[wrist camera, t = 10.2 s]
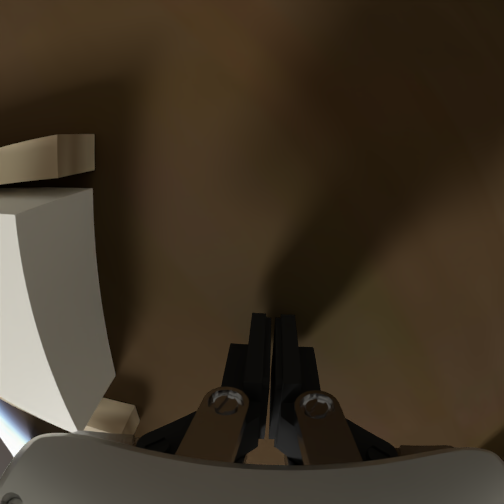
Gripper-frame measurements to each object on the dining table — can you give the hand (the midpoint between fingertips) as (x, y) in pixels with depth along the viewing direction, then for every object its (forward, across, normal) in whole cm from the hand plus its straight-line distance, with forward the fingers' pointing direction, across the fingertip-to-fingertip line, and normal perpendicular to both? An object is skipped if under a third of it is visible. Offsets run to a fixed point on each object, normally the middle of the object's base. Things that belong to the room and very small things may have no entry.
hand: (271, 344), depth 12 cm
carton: (+1, +14, -1) cm, 14 cm away
